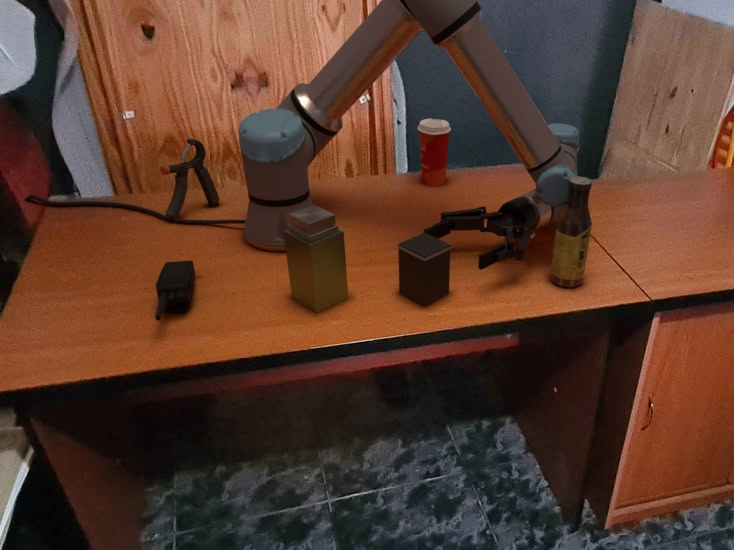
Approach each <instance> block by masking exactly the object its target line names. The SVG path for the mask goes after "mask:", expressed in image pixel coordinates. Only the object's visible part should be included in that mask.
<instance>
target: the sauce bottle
mask: <svg viewBox="0 0 734 550" xmlns="http://www.w3.org/2000/svg"><path fill="white" fill-rule="evenodd" d="M592 185H593V181H592V180H591V178H588V177H586V176H579V175H578V176H577V177H571V178H570V179H569V183H568V189H569V192H568V199H567V204H566V205H565V207H564V208H563V209H562V210H561V212H560V214H559V217H558V219H557V227H556V230H555V236H554V245H553V253H552V261H551V267H550V280H551V282H553V284H555V285H557V286H559V287H563V288H573V287H577V286H579V285H580V284H581V283H582V281H583V278H584V276H585V269H586V263H587V256H588V251H589V246H590V245H589V244H590V238H591V232H592V226H593V223H592V218H591V213H590V208H589V199H590V192H591V190H592Z"/></svg>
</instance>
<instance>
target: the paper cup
mask: <svg viewBox="0 0 734 550" xmlns="http://www.w3.org/2000/svg"><path fill="white" fill-rule="evenodd" d="M417 131H418V135H419V136H418V137H419V153H420V170H421V182H422V183H423V184H424V185H427V186H432V187H433V186H434V187H437V186H441V185H444V184H445V182H446V176H447V166H448V155H449V153H448V152H449V143H450V142H449V141H450V133H451V131H452V128H451V126H450V123H449V122H448V121H447V120H446V119H439V118H425V119H422V120H420V121H419V124H418V125H417Z"/></svg>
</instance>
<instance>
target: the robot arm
mask: <svg viewBox="0 0 734 550" xmlns="http://www.w3.org/2000/svg"><path fill="white" fill-rule="evenodd" d="M482 15H483V8H482V7H481V5H480V4H479V2H478V0H380V1H379V2H378V4H377V5H376V6H375V7H374V8H373V10H371V12H370V13H369V14H368V15H367V17H366V18H365V19H364V20H363V21H362V22H361V23H360V24H359V26H358V27H357V28H356V29H355V30H354V31H353V32H352V33H351V35H350V36H349V37H348V38H347V39H346V40H345V42H344V43H343V44H342V45H341V46H340V47H339V48H338V50H337V51H336V52H335V53H334V54H333V55H332V56H331V57H330V59H329V60H328V61H327V62H326V64H325V65H324V66H323V67H322V68H321V69H320V70H319V71H318V73H316V75H315V76H314V77H313V78H312V79H311V81H310V82H309V83H304V82H303V83H302V82H301V83H297V84H296V85H295V86H294V87H293V89H291V90H290V91H289V93H288V95H286V96H285V98H283V100H282V101H281V102H280V103H279V104H278V106H277V107H276V108H267V109H266V108H265V109H262V110H259V111H258V112H255V111H254V112H252V113H250V114H248V115H246V116H245V117H244V118H243V119H242V120H241V122H240V123H239V127H238V145H239V149H240V152H241V154H240V155H241V159H242V166H243V171H244V177H245V183H246V190H247V194H248V206H247V212H246V219H186V218H178V217H177V218H173V219H172V220H170V219H168V218H166V217H165V216H166V214H163V213H161V212H159V211H156V210H153V209H151V208H146V207H143V206H139V205H134V204H130V203H124V202H123V203H122V202H116V201H115V202H113V201H96V200H95V201H93V200H87V201H86V200H83V201H82V200H79V201H76V200H75V201H53V200H49V199H45V198H44V197H41V196H39V195H36V194H28V196H29V197H30V198H29V197H27V196H26V197H25V198H24V202H30V201H31V200H33V199H34V200H36V201H38V202H41V203H43V204H46V205H48V206H56V207H58V206H59V207H61V206H62V207H63V206H65V207H69V206H106V207H107V206H108V207H117V208H118V207H119V208H126V209H130V210H131V209H132V210H136V211H139V212H143V213H146V214H147V213H148V214H150V215H153V216H156V217H158V218H161V219H162V220H166V221H168V222H173V223H178V224H190V225H191V224H193V225H232V224H233V225H236V224H238V225H244V226H243V233H244V238H245V241H246V242H247V244H249V246H252V247H253V248H256V249H258V250H262V251H266V252H276V253H278V252H280V253H281V252H283V253H284V252H286V248H285V240H284V232H283V230H286V229H288V225H289V224H290V217H289V214H290V213H293V212H295V211H298V210H301V209H304V208H307V207H310V206H313V205H314V202H313V200H312V199H311V192H310V183H309V182H310V181H309V173H308V168H309V166H310V165H311V164H312V162H313V161H314V159H316V157H317V156H318V155H319V154H320V152H321V151H323V149H325V148H326V146H328V144H329V143H330V142H331V141H332V140H333V139H334V138H335V136H337V134H338V133H339V132H340V131H341V130H342V129H343V126H344V124H343V116H344V115H345V114H346V113H347V112H348V111H349V110H350V109H351V108H352V107H353V106H354V105H355V104H356V102H358V101H359V99H360V98H362V96H363V95H364V94H365V93H366V92H367V91H368V90H369V88H370V87H371V86H372V85H374V83H375V82H376V81H377V80H378V79H379V78H380V77H381V76H382V75H383V74H384V72H385V71H386V70H387V69H388V68H389V67H390V66H391V65H392V64H393V63H394V62H395V61H396V60H397V59H398V58H399V57H400V55H401V54H402V53H403V52H404V51H405V50H406V49H407V48H408V47H409V46H410V45H411V44H412V43H413V41H415V39H416V38H417V37H418V36H419V35H420V34H421V33H422V32H425V33H426V34H427V36H428V38H429V39H430V40H431V42H432V43H433V45H434V46H435V48H440V49H444V50H445V51H446V53H447V55H448V56H449V57H450V59H451V60H452V62H453V63H454V64H455V66H456V67H457V69H458V70H459V72H460V74H461V75H462V76H463V78H464V80H465V81H466V82H467V84H468V85H469V87H470V89H472V91H473V92H474V95H475V96H476V97H477V99H478V101H479V102H480V103H481V105H483V107H484V109H485V110H486V112H487V114H488V115H489V116H490V119H492V121H493V123H494V124H495V125H496V127H497V128H498V130H499V131H500V132H501V134H502V136H503V137H504V138H505V140H506V141H507V143H508V145H509V146H510V147H511V149H512V150H513V152H514V154H516V157H518V159H519V161H520V162H521V164H522V165H523V167H524V168H525V170H526V171H527V173H528V174H529V176H530V177H531V179H532V181H533V182H534V184H535V188H534V189H533V190H530V191H528V192H526V193H523V194H521V195H518V196H517V197H515V198H513V199H510V200H508V201H506V202H504V203H503V204H501V206H500V207H499V209H498V210H497V211H492V212H488V211H487V207H486V206H485V205H484V206H478V207H476V208H470V209H469V208H467V209H461V210H453V211H447V212H441V213H440V221H438V222H436V223H434V224H433V225H431V226H429V227H427V228H424V229H423V233H427V234H429V235H431V236H433V237H435V238H437V239H439V240H440V239H441V238H444V237H446V236H448V235H450V234H451V232H453V231H455V232H456V231H458V232H459V231H479V232H480V233H491V234H494V235H496V236H498V237H504V241H505V243H503V242H501V243H500V244H498V245H496V246H493V247H492V248H490V249H487V250H486V251H484V252H482V253H480V254H479V255H478V267H477V269H478V270H480V271H482V270H484V269H486V268H488V267H490V266H492V265H494V264H496V263H501V262H503V261H505V260H507V259H513V258H514V259H515V260H516V262H517V261H518V262H522V261H523V259H524V257H525V255H526V253H527V250H528V248H529V245H530V244H531V243H532V242H534V241H535V238H536V231H537V230H539V229H540V228H542V227H544V226H547V225H548V224H551V223H553V222H555V221H558V217H559V214H560V212H561V210H562V209H563V208H564V207H565V205H566V204H567V199H568V192H569V189H568V183H569V179H570V178H571V177H577V176H579V175H578V151H579V146H580V143H579V139H580V131H579V129H578V128H576V127H575V126H573V125H571V124H566V123H560V122H559V123H556V122H554V123H549V124H548V123H547V122H546V120H545V118H544V116H543V115H542V113H541V112H540V109H538V107H537V106H536V104H535V103H534V101H533V99H532V98H531V96H530V94H529V93H528V92H527V90H526V88H525V87H524V85H523V83H522V82H521V80H520V79H519V77H518V76H517V74H516V72H515V71H514V69H513V67H511V65H510V63H509V62H508V60H507V58H506V57H505V55H504V53H503V52H502V50H501V49H500V47H499V46H498V44H497V42H496V40H494V37H493V36H492V34H491V33H490V31H489V30H488V28H487V27H486V25H485V23H484V22H483V19H482ZM485 220H486V226H485ZM514 239H520V240H519V242H518V244H517V246H516V247H515V245H514V244H515V241H514Z"/></svg>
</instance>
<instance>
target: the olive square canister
mask: <svg viewBox="0 0 734 550" xmlns="http://www.w3.org/2000/svg"><path fill="white" fill-rule="evenodd" d="M289 217H290V224H289V225H288V229H286V230H283V232H284V240H285V248H286V251H285V255H286V263H287V270H288V271H287V272H288V278H289V288H290V293H291V298H292V299H293V300H295V301H297V302H298V303H300V304H302V305H303V306H305V307H306V308H308V309H309V310H311V311H313V312H314V313H317V314H318V313H319V312H322V311H324V310H327V309H328V308H330V307H333V306H334V305H337V304H339V303H341V302H343V301H345V300H347V299H349V288H348V287H349V285H348V273H347V258H346V245H345V231H344V230H341V229H340V228H339V226H338V225H337V224H336V215H335V214H334V213H333V212H330V211H328V210H327V209H324V208H323V207H320V206H318V205H316V204H313V206H310V207H307V208H304V209H301V210H298V211H295V212H293V213H290V214H289Z"/></svg>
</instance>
